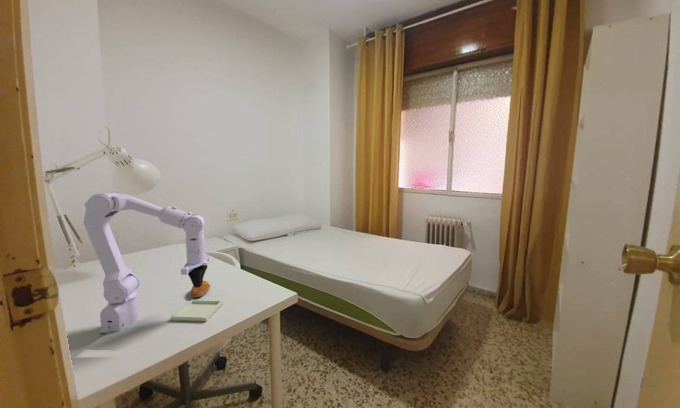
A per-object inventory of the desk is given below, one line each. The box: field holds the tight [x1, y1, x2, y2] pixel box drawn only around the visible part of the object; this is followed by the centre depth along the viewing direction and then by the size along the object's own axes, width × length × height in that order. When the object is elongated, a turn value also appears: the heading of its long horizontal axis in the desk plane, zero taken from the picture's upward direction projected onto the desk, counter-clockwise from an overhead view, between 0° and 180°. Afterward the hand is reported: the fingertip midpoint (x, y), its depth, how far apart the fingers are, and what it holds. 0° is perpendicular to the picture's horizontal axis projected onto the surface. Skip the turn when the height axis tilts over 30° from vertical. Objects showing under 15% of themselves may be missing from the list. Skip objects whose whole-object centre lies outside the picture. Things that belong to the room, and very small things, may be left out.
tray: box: [170, 299, 224, 323], centre depth 94 cm, size 12×12×2 cm
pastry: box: [190, 280, 211, 298], centre depth 108 cm, size 9×7×4 cm
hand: (197, 286), depth 93 cm, fingers closed
